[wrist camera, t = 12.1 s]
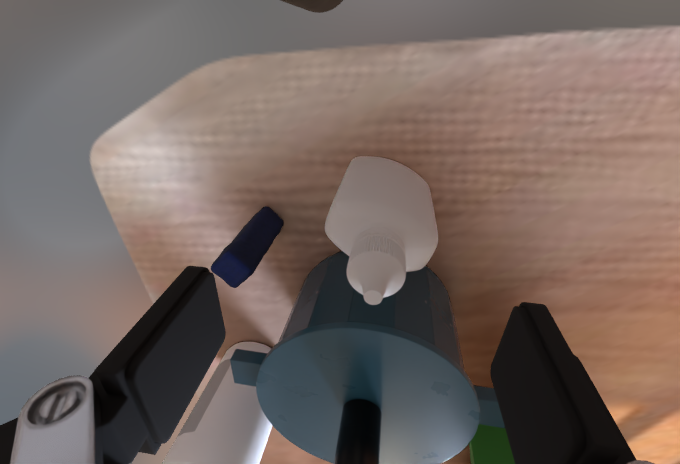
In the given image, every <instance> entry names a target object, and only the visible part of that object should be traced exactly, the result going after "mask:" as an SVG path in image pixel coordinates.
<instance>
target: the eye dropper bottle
mask: <svg viewBox="0 0 680 464" xmlns="http://www.w3.org/2000/svg"><path fill="white" fill-rule="evenodd" d="M325 232H326V234H327V236H328V237H329V239H330V240H331V241H332V242H333V243H334V244H335V245H336V246H337V247H338V248H339V249H341V250H342V251H343V252H344V253H345V254H347V255H348V256H350V257H349V261H348V265H347V269H346V270H347V271H346V273H347V274H346V275H347V278H348V281H349V283H350V285H352V287H353V288H354V289H355V290H356V291H358V292H359V293H360V294H362V295H363V296H364V300H365V302H367V303H368V304H370V305H377V304H379V303H381V301H382V299H383V298H384V297H388V296H391V295H393V294H394V293H396V292H397V291H399V289H401V287H402V285H404V282H405V278H406V272H411V271H417V270H420V269H422V268H423V267H424V266H426V264H427V263H428V262H429V260H430V258H431V257H432V255H433V253H434V251H435V249H436V247H437V244H438V231H437V224H436V219H435V213H434V208H433V202H432V197H431V192H430V188H429V186H428V184H427V183H426V182H425V180H424V179H423V178H421V177H420V176H419V175H418V174H417V173H415V172H414V171H413V170H411V169H410V168H408V167H406V166H405V165H403V164H401V163H398V162H396V161H393V160H390V159H386V158H382V157H375V156H359V157H356V158H353V159H352V161H351V162H350V163H349V166H348V168H347V170H346V172H345V175H344V177H343V179H342V181H341V184H340V186H339V188H338V191H337V193H336V195H335V198H334V200H333V203H332V205H331V208H330V210H329V213H328V216H327V219H326V222H325Z"/></svg>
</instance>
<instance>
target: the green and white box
mask: <svg viewBox="0 0 680 464" xmlns="http://www.w3.org/2000/svg"><path fill="white" fill-rule="evenodd" d="M469 448H470V460H471V464H515V461H514V458H513V454H512V451H511V447H510V444H509V440H508V436H507V433H506V429H505V428H499V427H493V426H487V425H481V424H479V425H478V428H477V431H476V433H475V435H474V437H473V439H472V440H471V441H470V443H469Z"/></svg>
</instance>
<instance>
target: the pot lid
mask: <svg viewBox="0 0 680 464" xmlns="http://www.w3.org/2000/svg"><path fill="white" fill-rule="evenodd" d="M256 393H257V397H258V401H259V404H260V406H261V409H262V411H263V412H264V414H265V416H266V417H267V419H268V420H269V421H270V423H271V424H272V425H273V426H274V428H275V429H276V430H277V431H279V432H280V433H281V434H282V435H283V436H284V437H285V438H286V439H288V440H289V441H290V442H292V443H293V444H295V445H296V446H298V447H299V448H301V449H303V450H304V451H306V452H308V453H310V454H312V455H314V456H316V457H318V458H320V459H323V460H326V461H328V462H331V463H334V464H441V463H443V462H445V461H447V460H449V459H451V458H452V457H454V456H455V455H457V454H458V453H460V452H461V451H462V450H463V449H464V448H465V447H466V446H467V445H468V444H469V443H470V441H471V440H472V439H473V437H474V435H475V433H476V431H477V428H478V425H479V421H480V408H479V402H478V397H477V393H476V391H475V388H474V386H473V384H472V382H471V380H470V379H469V377H468V375H467V374H466V373H465V371H464V370H463V369H462V368H461V367H460V366H459V364H458V363H457V362H455V361H454V360H453V359H452V358H451V357H450V356H449V355H448V354H446V353H445V352H443V351H442V350H440V349H439V348H437V347H436V346H435V345H433V344H431V343H429V342H427V341H425V340H423V339H421V338H419V337H417V336H414V335H412V334H409V333H407V332H404V331H401V330H398V329H394V328H391V327H387V326H382V325H376V324H371V323H359V322H336V323H327V324H321V325H316V326H312V327H308V328H305V329H302V330H300V331H297V332H295V333H293V334H291V335H289V336H287V337H285V338H284V339H283V340H281V341H280V342H279V343H277V344H276V345H275V346H274V347H273V348H272V349H271V350H270V351H269V352H268V354H267V355H266V357H265V358H264V360H263V362H262V364H261V366H260V369H259V372H258V374H257V380H256Z"/></svg>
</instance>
